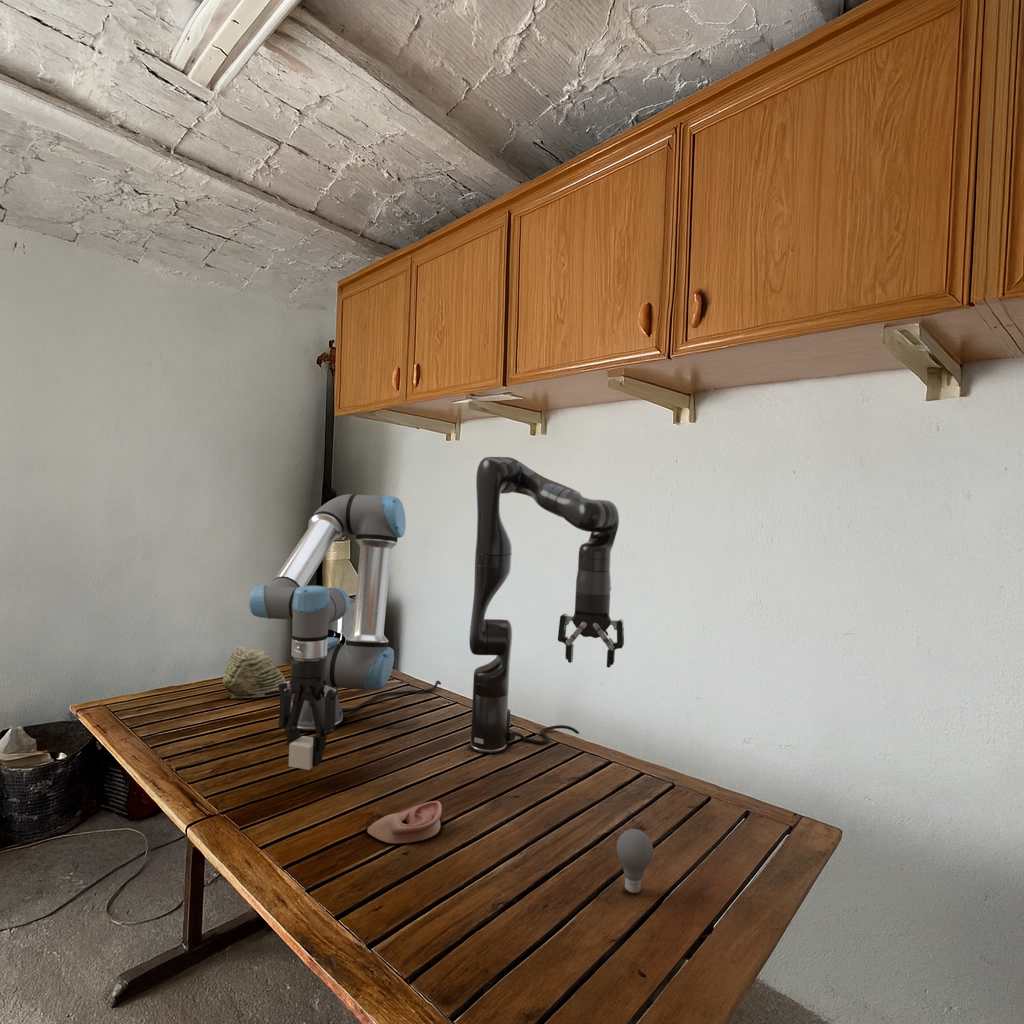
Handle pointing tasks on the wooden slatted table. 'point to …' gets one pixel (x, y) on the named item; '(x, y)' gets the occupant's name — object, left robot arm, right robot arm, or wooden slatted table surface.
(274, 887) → the wooden slatted table surface
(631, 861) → the light bulb
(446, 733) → the wooden slatted table surface
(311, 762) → the block
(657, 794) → the wooden slatted table surface
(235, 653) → the fossil
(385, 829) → the anatomical model
